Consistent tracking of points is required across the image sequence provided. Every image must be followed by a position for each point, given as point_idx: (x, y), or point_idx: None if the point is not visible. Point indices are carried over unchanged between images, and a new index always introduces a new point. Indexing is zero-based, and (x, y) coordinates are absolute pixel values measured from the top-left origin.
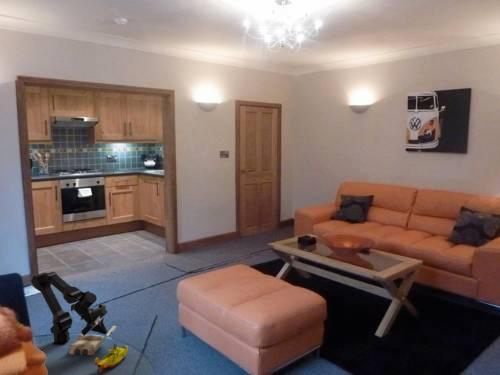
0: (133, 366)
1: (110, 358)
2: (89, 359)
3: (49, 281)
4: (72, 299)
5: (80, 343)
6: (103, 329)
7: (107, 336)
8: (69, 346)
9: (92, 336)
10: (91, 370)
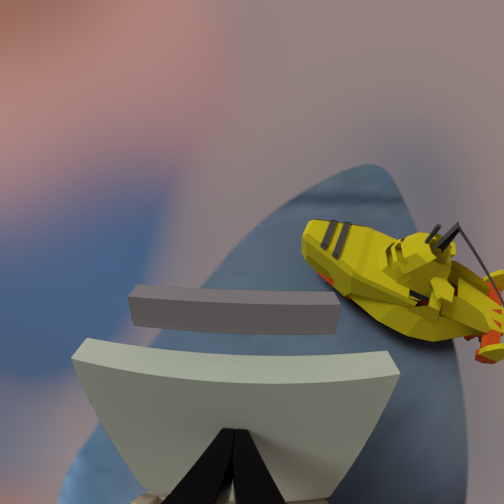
0: (383, 211)
1: (467, 276)
2: (371, 482)
3: None
4: None
5: None
6: (267, 488)
7: (386, 357)
8: None
9: None
10: (463, 396)
